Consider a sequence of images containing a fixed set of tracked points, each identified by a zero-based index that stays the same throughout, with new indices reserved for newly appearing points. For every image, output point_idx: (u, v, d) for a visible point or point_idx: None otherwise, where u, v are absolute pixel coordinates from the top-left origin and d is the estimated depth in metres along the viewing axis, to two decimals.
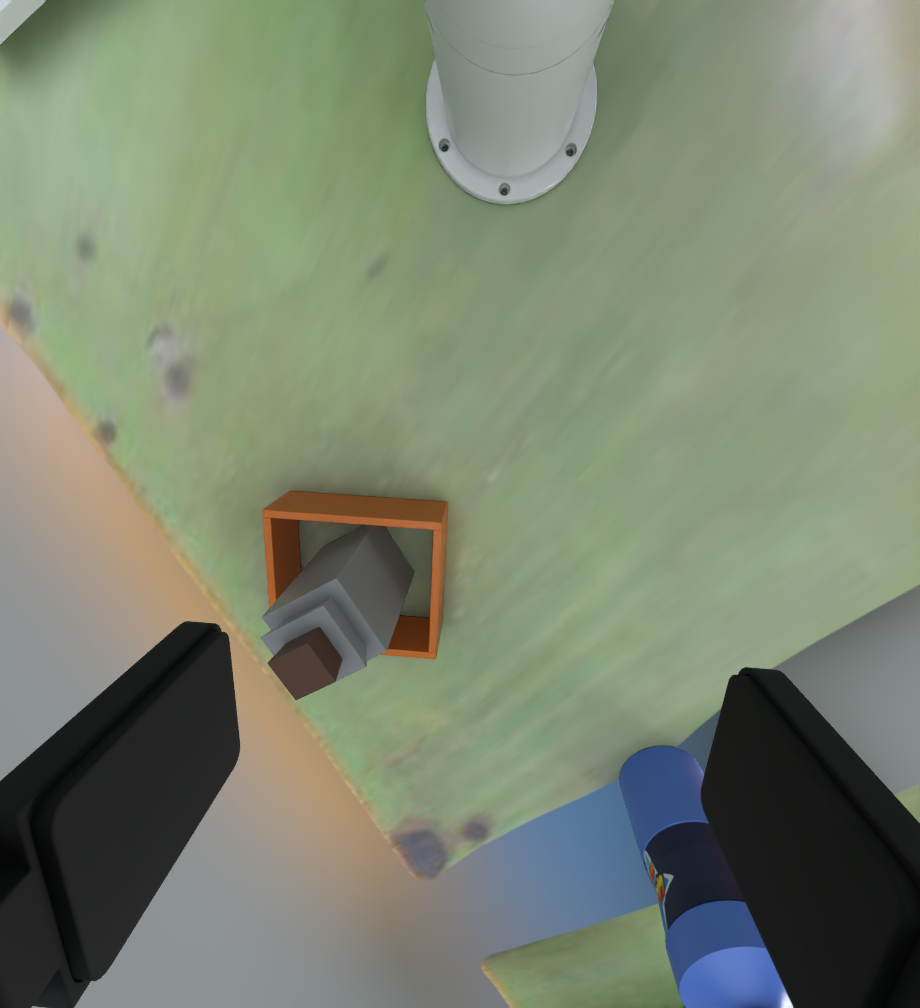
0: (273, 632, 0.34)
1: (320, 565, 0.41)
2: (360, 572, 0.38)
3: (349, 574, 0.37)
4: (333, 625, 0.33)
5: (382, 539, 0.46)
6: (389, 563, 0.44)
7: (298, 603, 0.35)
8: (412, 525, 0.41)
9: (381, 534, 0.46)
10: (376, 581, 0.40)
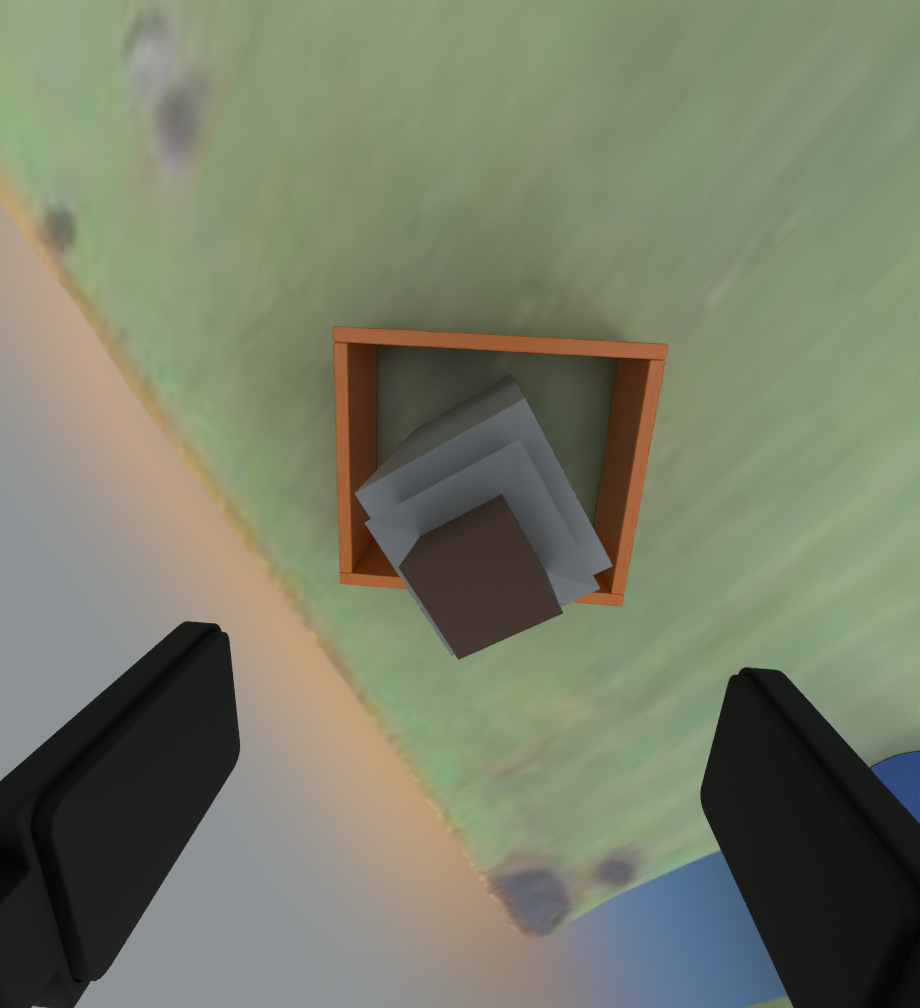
0: (395, 509, 0.15)
1: (439, 427, 0.23)
2: None
3: None
4: (536, 490, 0.14)
5: None
6: None
7: (435, 459, 0.17)
8: (611, 351, 0.22)
9: None
10: None
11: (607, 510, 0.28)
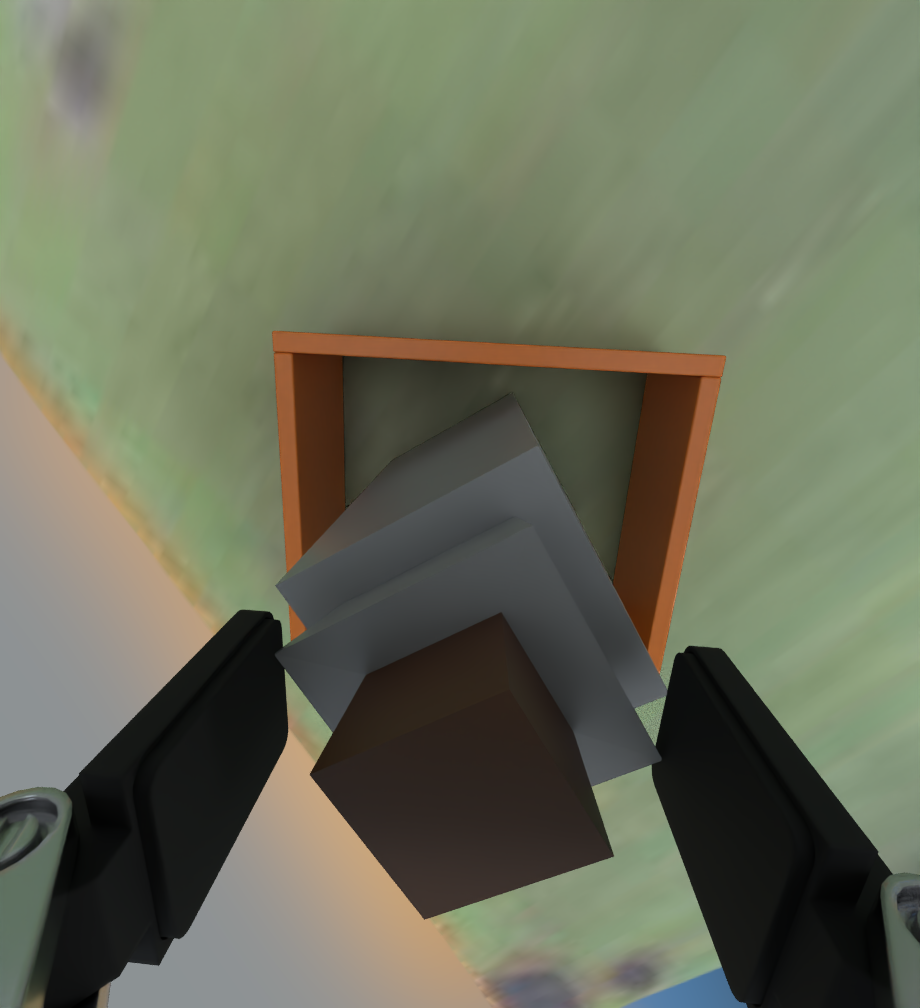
0: (323, 635, 0.09)
1: (416, 467, 0.17)
2: (550, 465, 0.14)
3: None
4: (559, 607, 0.08)
5: None
6: None
7: (397, 537, 0.11)
8: (649, 365, 0.16)
9: None
10: None
11: (634, 564, 0.22)
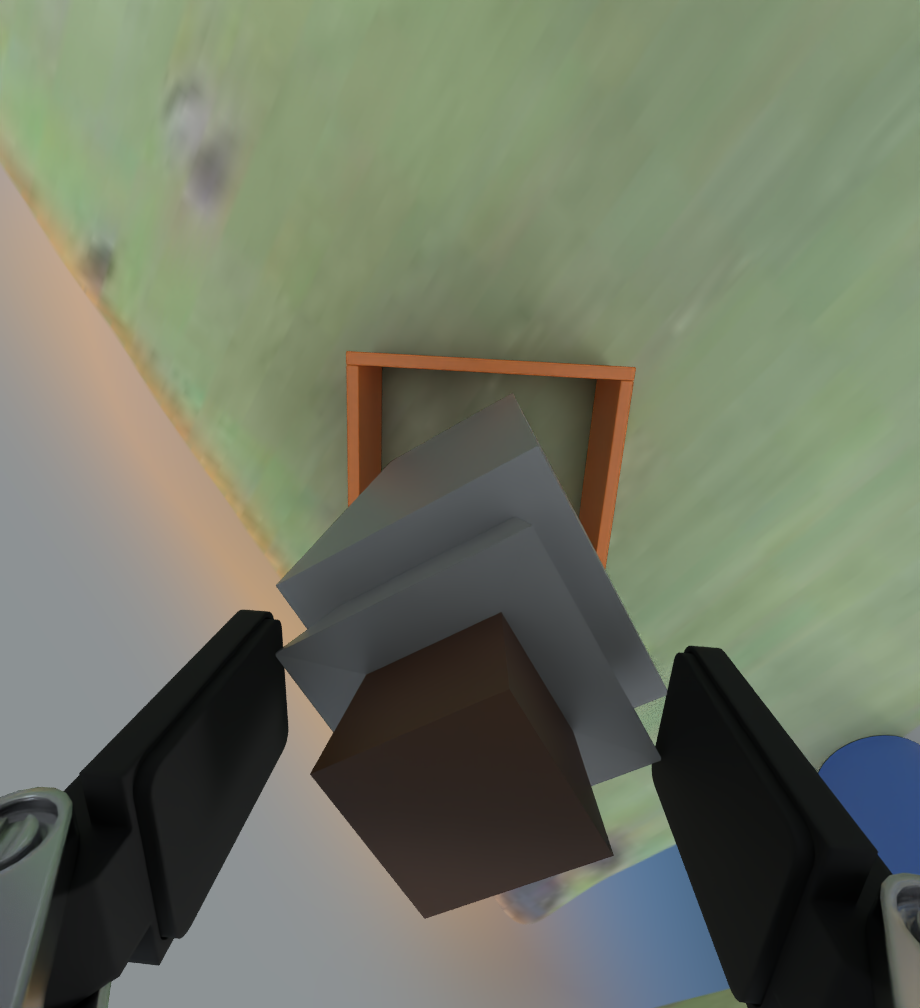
0: (323, 635, 0.09)
1: (416, 468, 0.17)
2: None
3: (544, 456, 0.12)
4: (559, 607, 0.09)
5: None
6: None
7: (397, 537, 0.11)
8: (587, 373, 0.26)
9: None
10: (569, 502, 0.15)
11: (588, 513, 0.31)
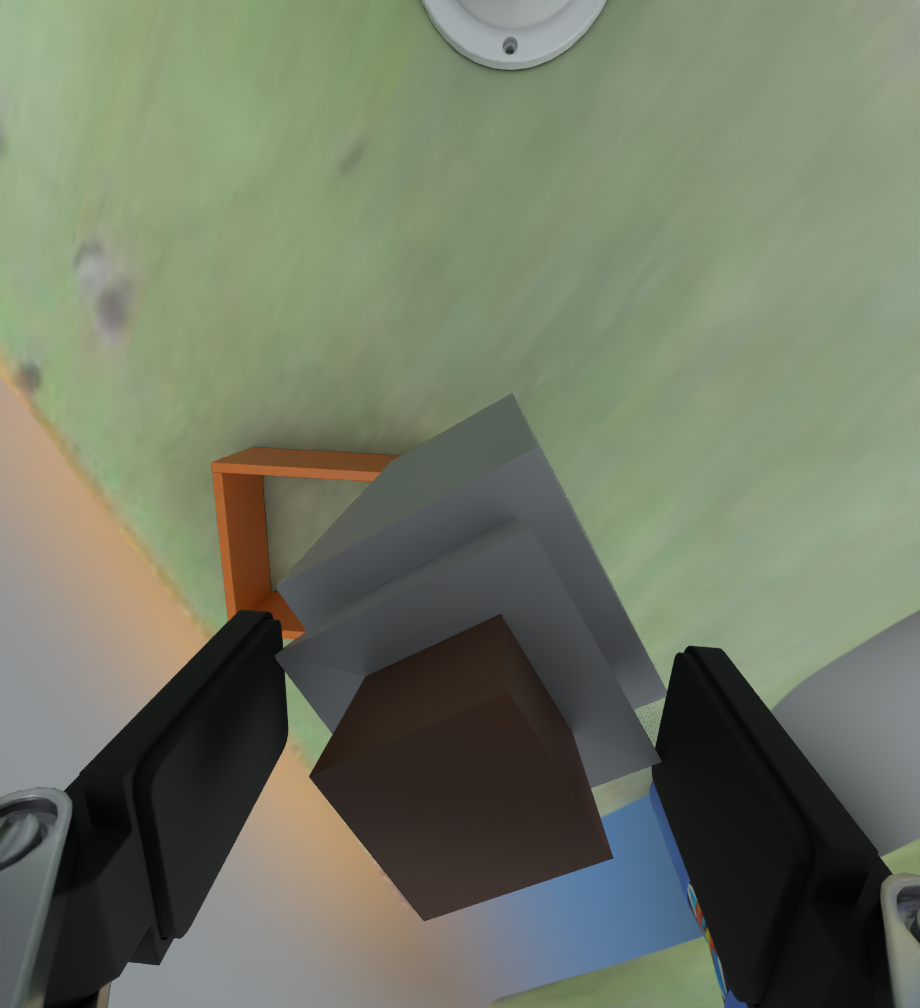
0: (322, 637, 0.09)
1: (416, 468, 0.17)
2: (549, 466, 0.14)
3: None
4: (559, 610, 0.08)
5: None
6: None
7: (397, 538, 0.11)
8: None
9: None
10: None
11: None
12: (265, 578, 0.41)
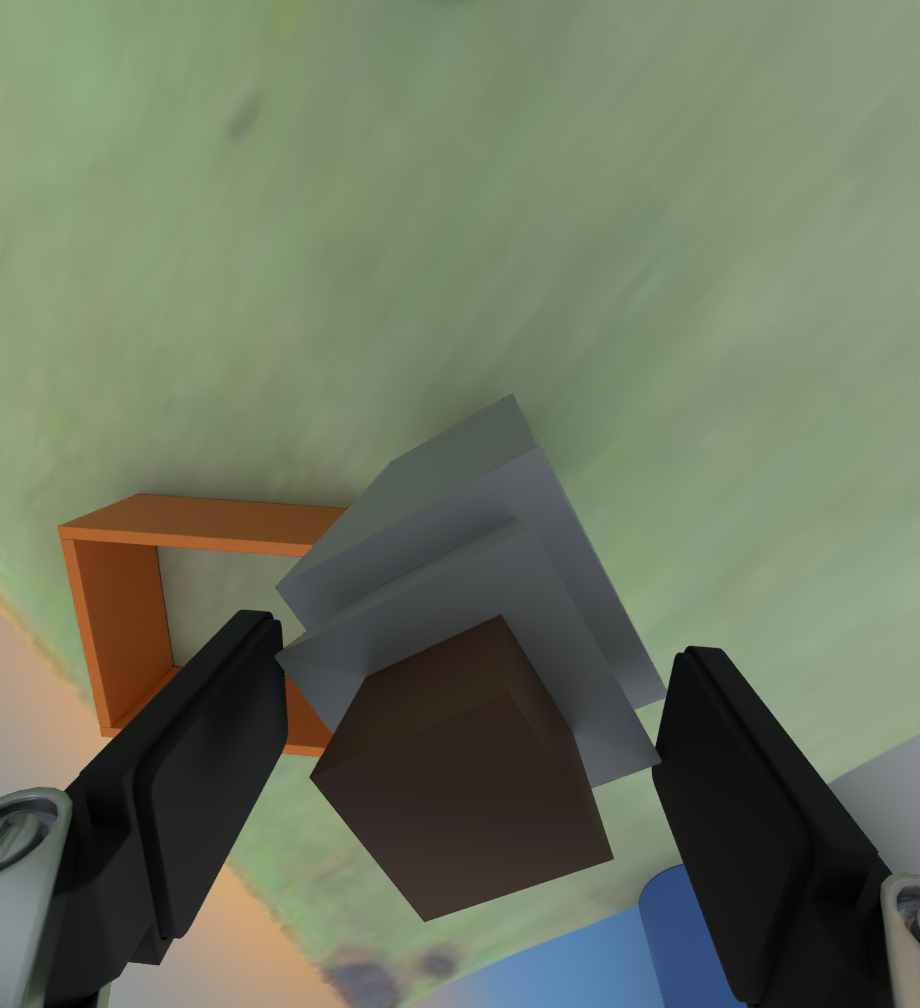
0: (322, 637, 0.09)
1: (416, 468, 0.17)
2: None
3: (544, 457, 0.12)
4: (560, 610, 0.08)
5: (532, 431, 0.21)
6: None
7: (397, 539, 0.11)
8: (304, 552, 0.25)
9: None
10: None
11: None
12: (162, 653, 0.33)
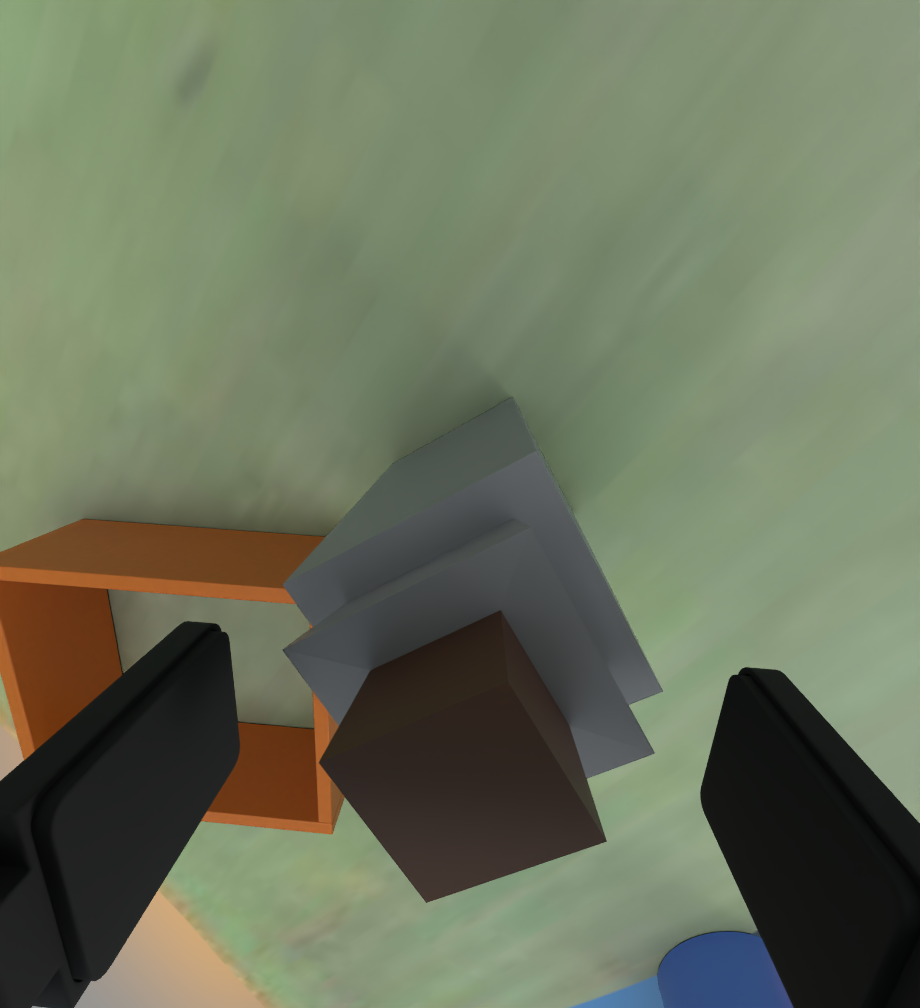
0: (329, 631, 0.09)
1: (418, 470, 0.17)
2: None
3: (542, 460, 0.12)
4: (556, 605, 0.09)
5: None
6: (555, 481, 0.20)
7: (400, 538, 0.11)
8: (266, 596, 0.20)
9: None
10: None
11: None
12: None
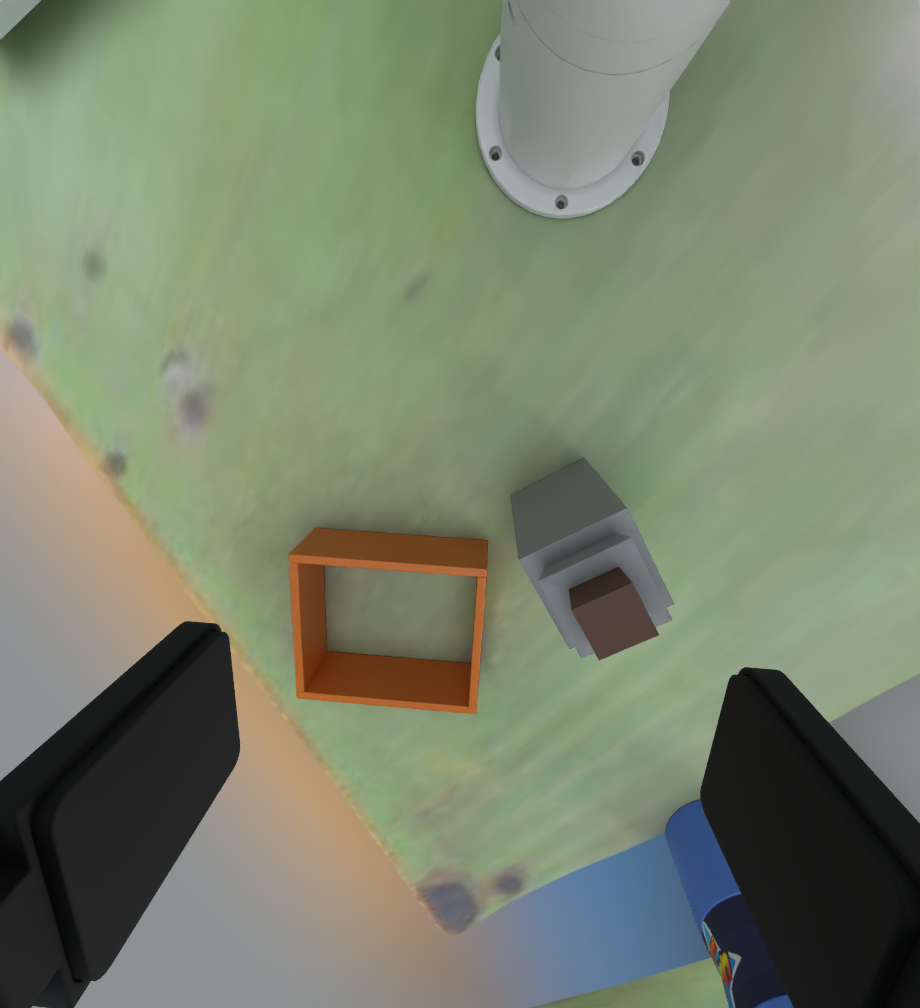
0: (556, 574, 0.26)
1: (549, 506, 0.34)
2: None
3: None
4: (639, 564, 0.26)
5: None
6: None
7: (570, 541, 0.28)
8: (454, 572, 0.37)
9: None
10: None
11: (472, 647, 0.43)
12: (323, 642, 0.46)
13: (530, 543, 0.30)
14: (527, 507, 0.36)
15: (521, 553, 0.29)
